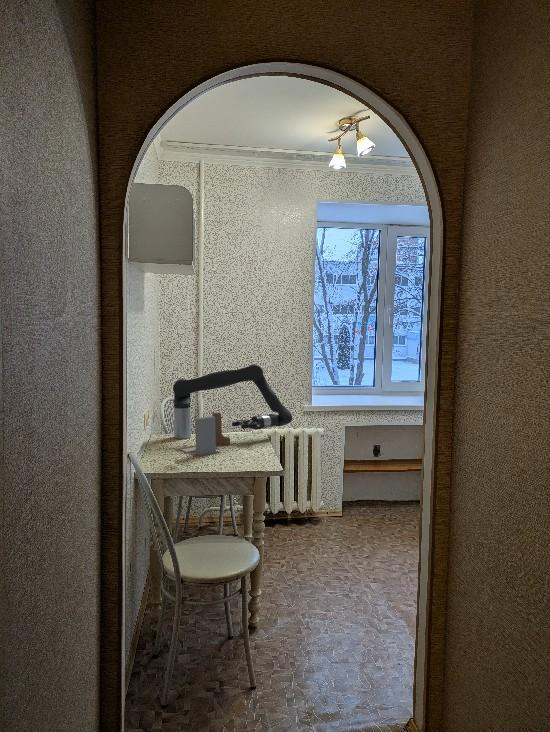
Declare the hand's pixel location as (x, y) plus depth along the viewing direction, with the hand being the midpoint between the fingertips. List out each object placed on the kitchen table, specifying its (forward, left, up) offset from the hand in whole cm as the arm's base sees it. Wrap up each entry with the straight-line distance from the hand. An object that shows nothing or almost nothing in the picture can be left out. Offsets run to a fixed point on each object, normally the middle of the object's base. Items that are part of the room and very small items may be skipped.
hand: (236, 425), depth 310 cm
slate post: (+12, -27, -9) cm, 31 cm away
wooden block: (0, -10, -10) cm, 14 cm away
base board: (+5, -27, -10) cm, 29 cm away
